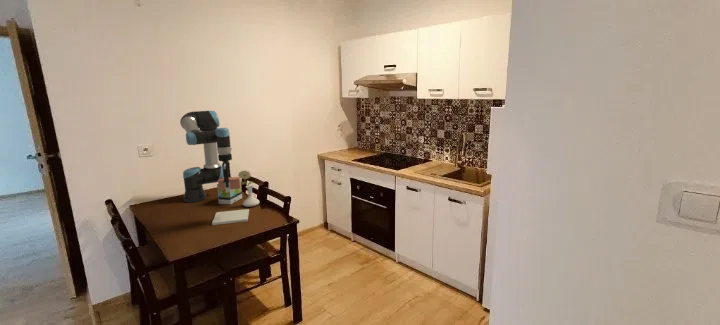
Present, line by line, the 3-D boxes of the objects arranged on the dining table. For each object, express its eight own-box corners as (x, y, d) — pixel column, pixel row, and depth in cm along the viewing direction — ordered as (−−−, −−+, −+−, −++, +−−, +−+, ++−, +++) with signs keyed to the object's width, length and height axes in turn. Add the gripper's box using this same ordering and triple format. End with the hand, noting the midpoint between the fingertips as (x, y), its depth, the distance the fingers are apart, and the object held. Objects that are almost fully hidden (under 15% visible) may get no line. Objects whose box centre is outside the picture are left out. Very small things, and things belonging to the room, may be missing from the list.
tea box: (231, 204, 232) (229, 184, 229) (218, 204, 234) (216, 184, 231) (242, 198, 246) (240, 178, 243) (230, 197, 248) (228, 178, 245)
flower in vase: (262, 202, 235) (259, 168, 230) (255, 208, 224) (252, 172, 219) (244, 202, 237) (241, 168, 231) (237, 207, 225) (233, 172, 220)
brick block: (239, 178, 201) (218, 180, 198) (240, 188, 202) (219, 190, 200) (240, 176, 207) (219, 178, 204) (241, 185, 208) (220, 187, 205)
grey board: (216, 214, 214) (216, 212, 214) (249, 211, 219) (249, 209, 219) (212, 225, 197) (211, 222, 197) (247, 221, 202) (247, 219, 202)
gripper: (229, 156, 191) (233, 194, 196) (233, 150, 209) (236, 186, 214) (215, 157, 189) (220, 195, 194) (220, 151, 207) (224, 187, 212)
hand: (228, 190), depth 204 cm, fingers closed on brick block, 6 cm apart
